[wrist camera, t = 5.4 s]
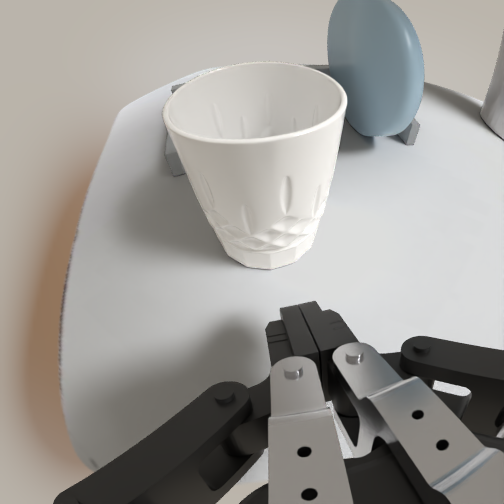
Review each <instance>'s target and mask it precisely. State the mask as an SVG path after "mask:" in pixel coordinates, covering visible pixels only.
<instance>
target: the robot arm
mask: <svg viewBox="0 0 504 504" xmlns="http://www.w3.org/2000/svg"><path fill="white" fill-rule="evenodd" d="M480 115H481V117H482V119H483V120H484V121H485V123H486V124H487V125H488V126H489V127H490V128H491V129H492V130H493V131H494V132H495V133H497V134H498V135H499V136H500V137H501V138H503V139H504V31H503V37H502V42H501V46H500V51H499V55H498V58H497V62H496V66H495V69H494V73H493V76H492V80H491V83H490V86H489V89H488V92H487V95H486V98H485V101H484V103H483V106H482V109H481V111H480ZM280 315H281V320H278V321H272V322H269V324H268V325H267V327H266V329H265V331H266V337H267V342H268V348H269V354H270V360H271V366H272V368H271V371H270V375H269V376H268V377H267V379H265V380H264V381H263V382H261V383H260V384H258V385H255V386H253V387H250V388H248V389H247V387H246V386H244V385H243V384H241V383H238V382H222V383H218V384H216V385H213V386H211V387H210V388H208V389H207V390H206V391H205V392H203V393H202V394H201V395H200V396H199V397H197V398H196V399H195V400H194V401H193V402H191V403H190V404H189V405H188V406H186V407H185V408H184V409H183V410H181V411H180V412H179V413H177V414H176V415H175V416H174V417H172V418H171V419H170V420H168V421H167V422H166V423H165V424H163V425H162V426H161V427H159V428H158V429H157V430H155V431H154V432H153V433H151V434H150V435H149V436H147V437H146V438H144V439H143V440H142V441H140V442H139V443H138V444H136V445H135V446H133V447H132V448H130V449H129V450H128V451H126V452H125V453H123V454H122V455H120V456H119V457H117V458H116V459H114V460H113V461H111V462H110V463H108V464H107V465H105V466H104V467H102V468H101V469H99V470H98V471H96V472H95V473H93V474H91V475H90V476H88V477H87V478H85V479H83V480H82V481H80V482H78V483H77V484H75V485H73V486H72V487H70V488H68V489H66V490H65V491H63V492H61V493H60V494H59V495H58V496H57V497H56V499H55V500H54V503H53V504H216V503H217V502H218V501H219V500H220V499H221V498H222V497H223V496H224V495H225V494H226V493H227V492H228V491H229V490H230V489H231V488H232V487H233V486H234V485H235V484H236V483H237V482H238V481H239V480H240V479H241V478H242V477H243V476H244V474H245V473H246V472H247V471H248V470H249V469H250V468H251V467H252V466H253V465H254V463H255V462H256V461H257V460H258V459H259V458H260V457H261V455H262V454H263V452H264V449H265V448H268V470H269V483H267V484H265V485H263V486H262V487H260V488H258V489H256V490H255V491H253V492H252V493H251V494H249V495H248V496H247V497H246V498H244V499H243V500H242V501H241V502H240V503H239V504H504V350H498V349H492V348H486V347H480V346H474V345H469V344H463V343H458V342H453V341H448V340H442V339H437V338H432V337H427V336H416V337H412V338H410V339H408V340H406V341H405V342H404V343H403V344H402V347H401V352H396V353H387V354H379V353H378V352H377V351H376V350H375V349H374V348H373V347H372V346H370V345H368V344H365V343H359V341H358V340H357V338H356V337H355V336H354V334H353V333H352V331H351V330H350V329H349V327H347V324H346V323H345V322H344V321H343V319H342V318H341V316H340V315H339V314H338V313H336V312H334V311H332V310H330V309H329V310H325V311H322V310H321V309H320V307H319V305H318V304H317V302H316V301H312V302H308V303H303V304H298V305H293V306H288V307H283V308H280ZM435 380H437V381H441V382H445V383H449V384H453V385H458V386H462V387H466V388H468V389H469V390H470V391H471V393H470V394H469V395H467V396H458V395H454V394H450V393H445V392H441V391H437V390H434V389H433V385H434V381H435ZM331 400H332V403H333V405H334V418H335V420H336V422H337V424H338V426H339V428H340V430H341V432H342V434H343V436H344V438H345V440H346V442H347V444H348V446H349V448H350V450H351V452H352V454H353V457H354V458H348V459H343V456H342V452H341V448H340V443H339V439H338V435H337V431H336V427H335V424H334V420H333V416H332V412H331V409H330V408H329V407H328V408H327V407H326V403H325V402H327V401H331Z"/></svg>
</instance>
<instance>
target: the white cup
mask: <svg viewBox="0 0 504 504" xmlns="http://www.w3.org/2000/svg"><path fill="white" fill-rule="evenodd" d="M346 107H347V95H346V93H345V91H344V89H343V88H342V86H341V85H340V84H339V83H338V82H337V81H336V80H334V79H333V78H331V77H330V76H328V75H326V74H324V73H322V72H320V71H318V70H315V69H312V68H309V67H306V66H302V65H297V64H292V63H284V62H249V63H241V64H235V65H230V66H226V67H222V68H218V69H215V70H212V71H209V72H207V73H204V74H202V75H200V76H197V77H195V78H194V79H192V80H190V81H188V82H187V83H185V84H184V85H182V86H181V87H179V88H178V89H177V90H176V91H175V92H174V93H173V94H172V95H171V96H170V97H169V98H168V100H167V101H166V103H165V105H164V108H163V113H162V115H163V120H164V123H165V125H166V127H167V130H168V132H169V134H170V137H171V139H172V141H173V144H174V146H175V148H176V151H177V153H178V155H179V158H180V160H181V162H182V165H183V167H184V169H185V172H186V174H187V176H188V179H189V181H190V183H191V186H192V188H193V190H194V192H195V195H196V197H197V199H198V201H199V203H200V205H201V208H202V210H203V211H204V213H205V215H206V217H207V219H208V222H209V223H210V225H211V226H212V227H213V228H214V231H215V233H216V235H217V237H218V239H219V241H220V243H221V245H222V246H223V248H224V250H225V251H226V253H227V255H228V256H230V257H231V258H233V259H235V260H236V261H238V262H240V263H241V264H243V265H245V266H246V267H251V268H260V269H269V270H272V269H275V268H279V267H282V266H285V265H289V264H292V263H295V262H296V261H297V260H298V259H299V258H300V257H301V256H303V255H304V254H305V253H306V252H307V251H308V250H309V249H310V248H311V247H312V244H313V241H314V238H315V235H316V232H317V229H318V225H319V221H320V218H321V216H322V215H323V212H324V209H325V204H326V201H327V198H328V194H329V189H330V184H331V182H332V178H333V175H334V170H335V165H336V160H337V155H338V150H339V145H340V139H341V134H342V129H343V124H344V118H345V113H346Z"/></svg>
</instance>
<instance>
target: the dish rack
mask: <svg viewBox="0 0 504 504" xmlns="http://www.w3.org/2000/svg"><path fill="white" fill-rule="evenodd" d="M327 44H328V46H327V47H328V62H329V65H307V66H306V67H309V68H312V69H315V70H318V71H320V72H322V73H324V74H326V75H328V76H330V77H331V78H333V79H334V80H336V81H337V82H338V83H339V84H340V85H341V86H342V88H343V89H344V91H345V93H346V95H347V107H346V113H345V117H346V119H347V120H348V122H349V123H350V125H351V126H352V127H353V128H354V129H355V130H356V131H357V132H359V133H360V134H362V135H365V136H391V135H396V134H398V135H399V136H400V138H401V139H402V140H403V141H404V143H405V144H406V145H414V143H415V140H416V137H417V134H418V131H419V127H420V124H419V123H418V122H417V121H416V120H415V119H414V117H415V115H416V113H417V111H418V108H419V105H420V102H421V98H422V93H423V87H424V61H423V54H422V50H421V46H420V42H419V39H418V36H417V34H416V31H415V29H414V27H413V25H412V23H411V22H410V20H409V19H408V17H407V16H406V14H405V13H404V12H403V11H402V9H401V8H400V7H399V6H397V5H396V4H395V3H394V2H392V1H391V0H338V2H337V3H336V5H335V7H334V9H333V11H332V14H331V17H330V21H329V27H328V40H327ZM184 84H185V83H183V84H179V85H175V86H172V89H171V91H172V94H173V93H174V92H175V91H176V90H177V89H178V88H179V87H181V86H182V85H184ZM165 157H166V159H167V162H168V164H169V167H170V169H171V171H172V174H173V176H178V175H182V174H185V169H184V167H183V165H182V162H181V160H180V158H179V155H178V153H177V151H176V148H175V146H174V144H173V141H172V139H171V137H170V134H169V132H168V134H167V141H166V149H165Z"/></svg>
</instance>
